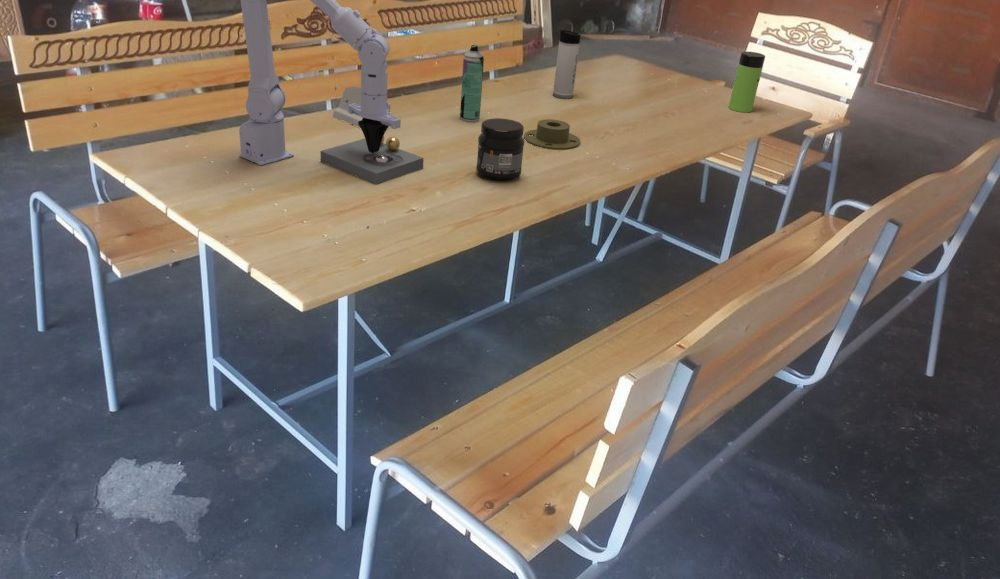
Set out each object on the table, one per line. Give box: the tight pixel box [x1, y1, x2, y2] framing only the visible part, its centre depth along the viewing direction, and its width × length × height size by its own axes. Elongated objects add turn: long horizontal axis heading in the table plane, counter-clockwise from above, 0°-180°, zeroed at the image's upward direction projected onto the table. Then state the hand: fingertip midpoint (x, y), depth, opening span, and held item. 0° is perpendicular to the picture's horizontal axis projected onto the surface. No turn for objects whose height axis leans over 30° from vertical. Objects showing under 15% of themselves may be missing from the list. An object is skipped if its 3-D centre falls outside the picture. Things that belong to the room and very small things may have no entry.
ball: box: [375, 155, 389, 162], centre depth 177 cm, size 3×3×3 cm
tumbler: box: [728, 51, 766, 113], centre depth 244 cm, size 8×8×17 cm
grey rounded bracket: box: [332, 86, 392, 128], centre depth 203 cm, size 17×5×10 cm, turn 48°
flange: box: [523, 118, 581, 151], centre depth 205 cm, size 5×15×15 cm
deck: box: [319, 138, 424, 185], centre depth 179 cm, size 18×15×2 cm
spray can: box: [459, 44, 485, 123], centre depth 210 cm, size 6×6×20 cm
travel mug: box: [552, 29, 581, 100], centre depth 239 cm, size 6×7×20 cm
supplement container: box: [475, 117, 525, 183], centre depth 178 cm, size 10×10×12 cm
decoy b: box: [385, 136, 401, 151], centre depth 181 cm, size 3×3×3 cm
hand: (373, 151), depth 177 cm, fingers closed
